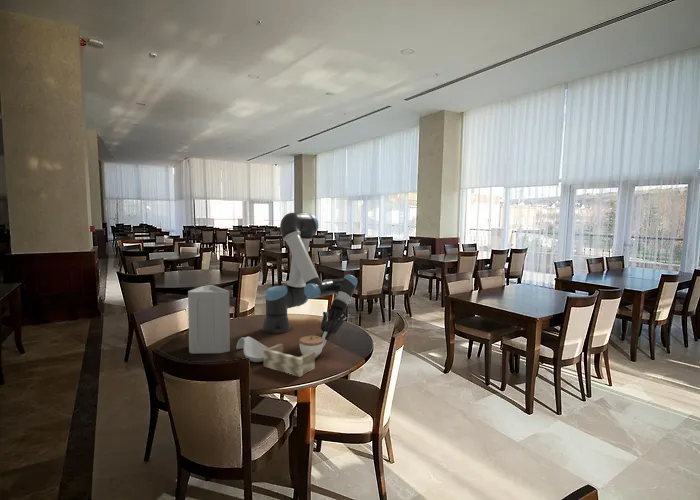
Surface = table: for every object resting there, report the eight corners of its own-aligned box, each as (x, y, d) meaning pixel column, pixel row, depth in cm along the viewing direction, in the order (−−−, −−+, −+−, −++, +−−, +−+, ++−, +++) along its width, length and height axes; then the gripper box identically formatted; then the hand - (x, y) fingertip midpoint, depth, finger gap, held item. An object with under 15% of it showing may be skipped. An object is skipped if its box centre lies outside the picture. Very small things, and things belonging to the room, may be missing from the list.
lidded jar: (324, 352, 177) (325, 332, 176) (320, 361, 167) (321, 340, 166) (302, 351, 178) (302, 331, 177) (296, 359, 168) (296, 339, 167)
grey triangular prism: (181, 347, 180) (180, 288, 178) (212, 340, 190) (211, 284, 188) (198, 358, 166) (197, 295, 164) (230, 350, 177) (230, 291, 174)
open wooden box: (263, 366, 160) (263, 350, 159) (279, 358, 168) (279, 343, 168) (299, 377, 150) (299, 359, 149) (314, 368, 159) (314, 352, 158)
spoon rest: (276, 361, 166) (276, 345, 166) (251, 367, 159) (251, 351, 158) (251, 346, 184) (251, 331, 183) (228, 351, 176) (228, 336, 176)
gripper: (354, 308, 189) (336, 351, 177) (332, 305, 196) (313, 346, 183) (349, 300, 184) (329, 344, 171) (326, 296, 191) (306, 338, 178)
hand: (321, 345), depth 177 cm, fingers closed
